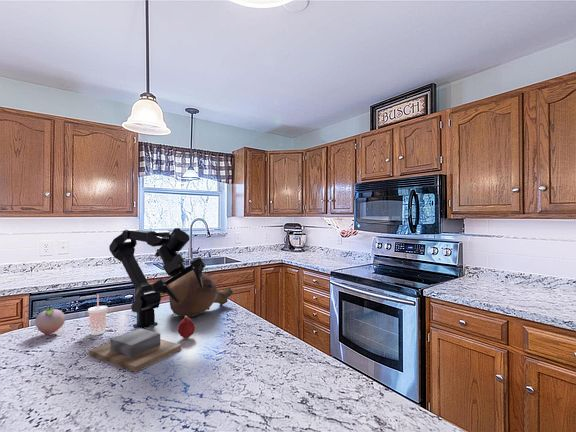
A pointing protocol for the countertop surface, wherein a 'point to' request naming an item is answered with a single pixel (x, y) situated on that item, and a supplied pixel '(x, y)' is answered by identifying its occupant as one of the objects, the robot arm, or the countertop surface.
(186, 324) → the onion
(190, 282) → the jug
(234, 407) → the countertop surface
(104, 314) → the beverage cup
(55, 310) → the decorative fruit
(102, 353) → the stacking base
